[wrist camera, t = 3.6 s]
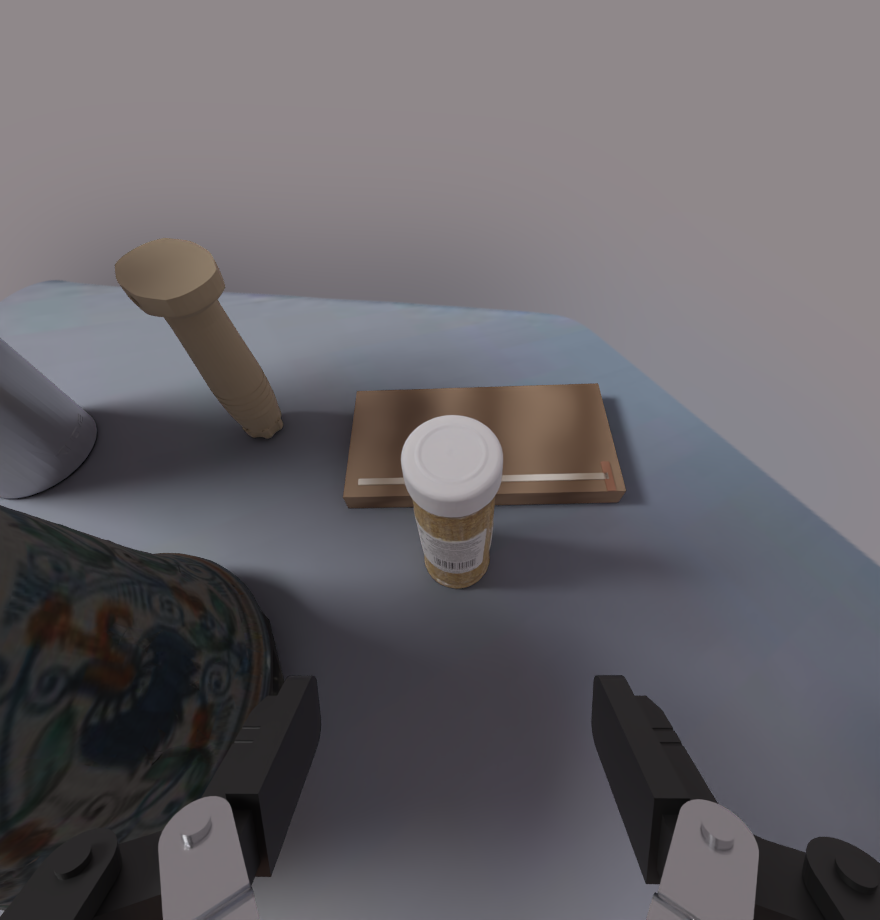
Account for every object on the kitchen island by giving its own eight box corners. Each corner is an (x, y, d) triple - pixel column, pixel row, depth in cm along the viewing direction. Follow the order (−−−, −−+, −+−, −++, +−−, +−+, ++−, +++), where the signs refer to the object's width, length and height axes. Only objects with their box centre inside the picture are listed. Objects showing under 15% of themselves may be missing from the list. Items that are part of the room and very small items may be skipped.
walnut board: (348, 508, 33) (342, 496, 31) (361, 404, 38) (356, 390, 36) (618, 502, 32) (626, 490, 30) (592, 397, 37) (598, 382, 36)
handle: (265, 391, 39) (171, 228, 27) (312, 426, 37) (233, 265, 24) (221, 425, 37) (97, 268, 25) (267, 464, 35) (157, 312, 22)
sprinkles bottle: (497, 539, 31) (517, 425, 19) (477, 600, 29) (486, 512, 17) (436, 519, 32) (422, 400, 20) (413, 577, 30) (382, 480, 18)
